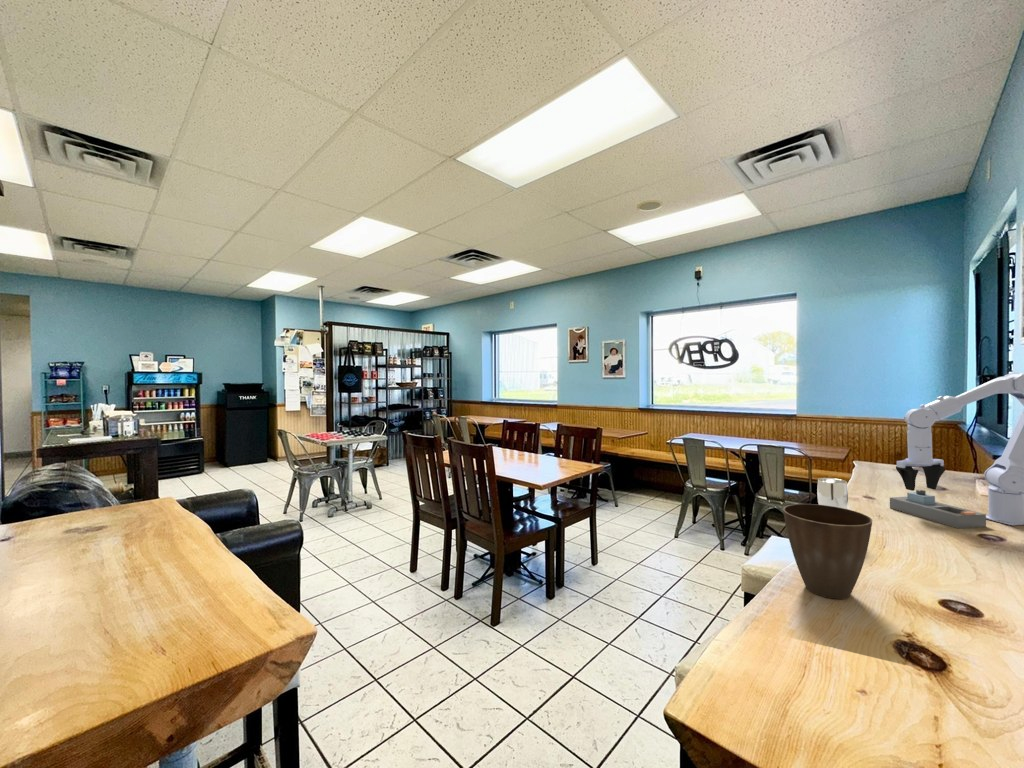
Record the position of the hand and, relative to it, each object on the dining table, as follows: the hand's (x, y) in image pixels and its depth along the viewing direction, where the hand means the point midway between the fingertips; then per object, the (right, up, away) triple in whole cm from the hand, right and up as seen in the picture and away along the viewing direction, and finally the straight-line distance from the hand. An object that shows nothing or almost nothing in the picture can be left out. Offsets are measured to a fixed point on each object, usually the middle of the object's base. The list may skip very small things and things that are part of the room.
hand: (920, 489), depth 137 cm
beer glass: (-40, -9, -16) cm, 44 cm away
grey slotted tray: (+1, -8, -4) cm, 8 cm away
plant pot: (-65, -10, -48) cm, 81 cm away
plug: (0, -8, 0) cm, 8 cm away
